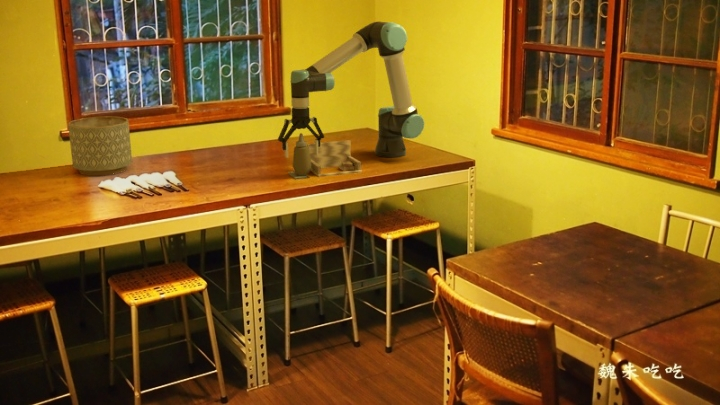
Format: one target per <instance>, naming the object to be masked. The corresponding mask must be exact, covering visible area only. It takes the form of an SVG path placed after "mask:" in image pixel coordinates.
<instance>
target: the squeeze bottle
mask: <svg viewBox="0 0 720 405" xmlns="http://www.w3.org/2000/svg"><path fill="white" fill-rule="evenodd" d="M307 144H308V142H307V141H306V140H305V139H304V134H303V133H302V132H301V133H299V136H298V140H297V141H296V142H295V146H294V148H293V155H292V156H293V159H292V160H293V161H292V167H293V172H295V174H296V175H307V176H308V175H310V172H311V171H310V168H311V159H310V152H309V147H308V146H307Z"/></svg>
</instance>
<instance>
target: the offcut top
mask: <svg viewBox="0 0 720 405" xmlns="http://www.w3.org/2000/svg"><path fill="white" fill-rule="evenodd" d="M341 165H342V166H343V167H344V168H346V167H353V164H352V163H351V162H350V161H346V162H341Z"/></svg>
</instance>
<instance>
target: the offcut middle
mask: <svg viewBox="0 0 720 405" xmlns="http://www.w3.org/2000/svg"><path fill="white" fill-rule="evenodd" d="M338 169H339V170H341V171H342V172H347V171H355V170H354V166H353V167H346V168H344V167H343V166H342V165H339V166H338Z"/></svg>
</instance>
